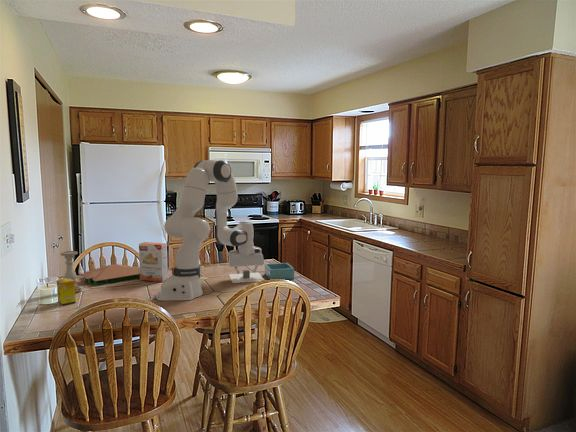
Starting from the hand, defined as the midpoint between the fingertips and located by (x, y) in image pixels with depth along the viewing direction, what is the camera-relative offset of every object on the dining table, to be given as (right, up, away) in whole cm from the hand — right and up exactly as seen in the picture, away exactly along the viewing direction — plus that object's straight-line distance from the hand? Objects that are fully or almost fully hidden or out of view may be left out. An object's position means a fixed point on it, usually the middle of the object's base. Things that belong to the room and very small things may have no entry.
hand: (246, 273), depth 236 cm
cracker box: (-51, -3, -6) cm, 52 cm away
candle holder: (-85, -6, -28) cm, 90 cm away
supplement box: (-79, -8, -45) cm, 91 cm away
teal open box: (+19, -2, +3) cm, 19 cm away
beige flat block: (-75, -3, -1) cm, 75 cm away
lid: (0, -3, 0) cm, 3 cm away
